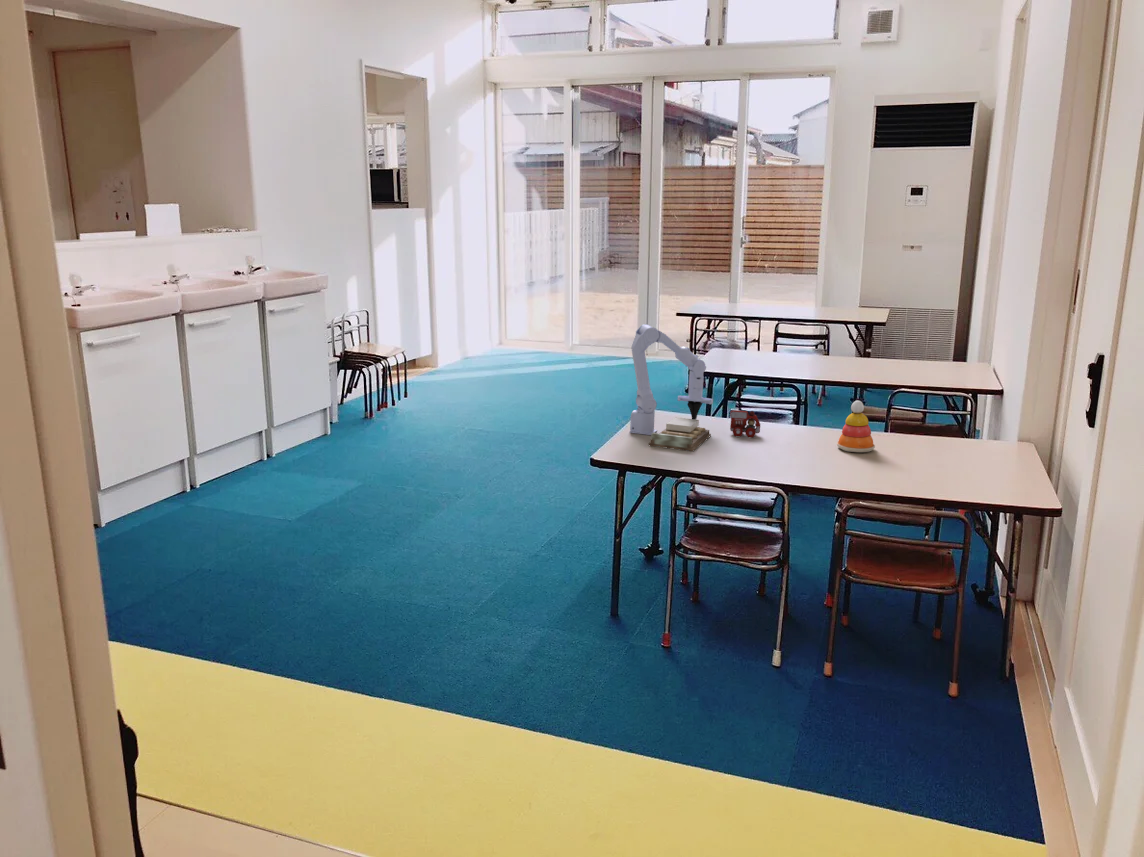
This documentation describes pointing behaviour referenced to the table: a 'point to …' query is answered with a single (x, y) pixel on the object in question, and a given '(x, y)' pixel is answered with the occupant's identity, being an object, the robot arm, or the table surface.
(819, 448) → the table surface
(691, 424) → the stone slab
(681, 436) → the brown-green flat block
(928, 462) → the table surface
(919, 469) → the table surface
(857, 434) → the stacking toy
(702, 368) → the robot arm
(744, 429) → the toy fire truck
